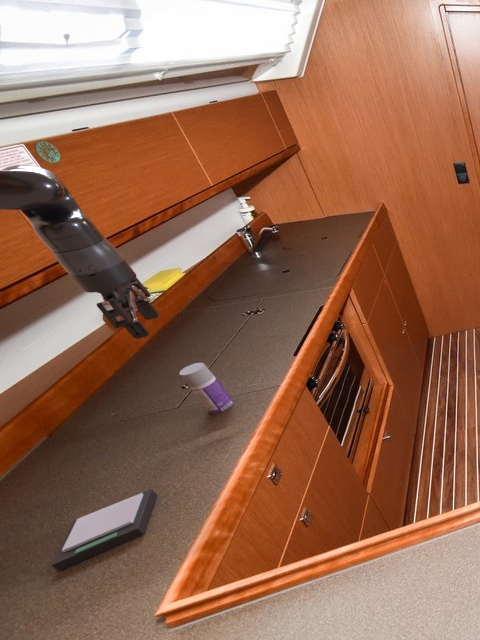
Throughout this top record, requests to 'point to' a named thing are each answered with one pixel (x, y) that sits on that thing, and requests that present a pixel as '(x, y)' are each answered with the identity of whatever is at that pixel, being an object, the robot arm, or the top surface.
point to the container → (206, 387)
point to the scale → (105, 529)
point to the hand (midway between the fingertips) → (148, 327)
